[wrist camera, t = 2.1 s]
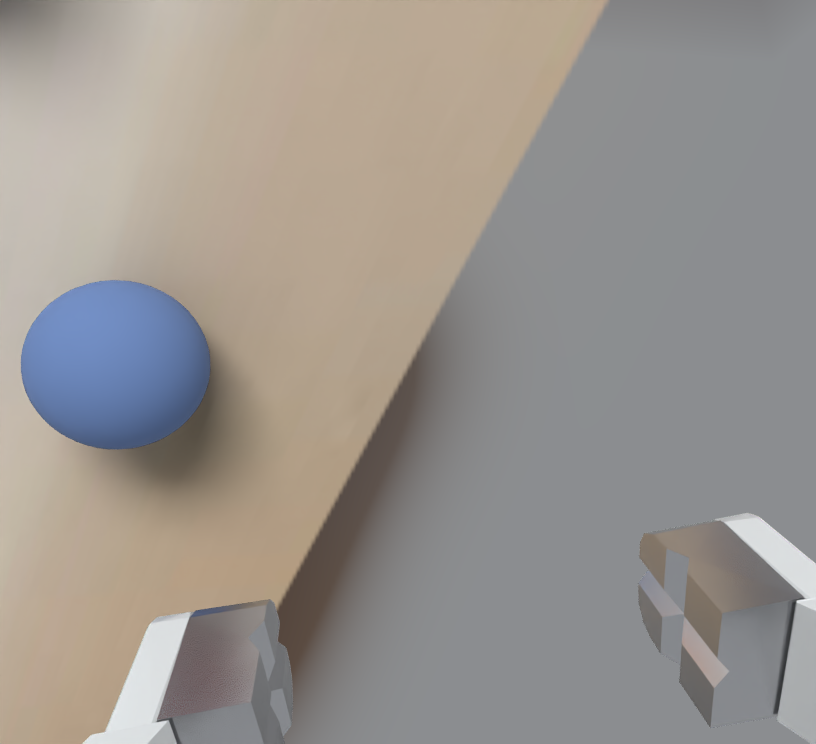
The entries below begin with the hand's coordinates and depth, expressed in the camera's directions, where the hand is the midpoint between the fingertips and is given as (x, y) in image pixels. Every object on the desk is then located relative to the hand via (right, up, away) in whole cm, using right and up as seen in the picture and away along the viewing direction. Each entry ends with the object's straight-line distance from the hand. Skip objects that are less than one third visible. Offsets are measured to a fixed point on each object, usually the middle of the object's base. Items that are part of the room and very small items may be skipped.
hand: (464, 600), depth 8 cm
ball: (-11, +3, +13) cm, 17 cm away
